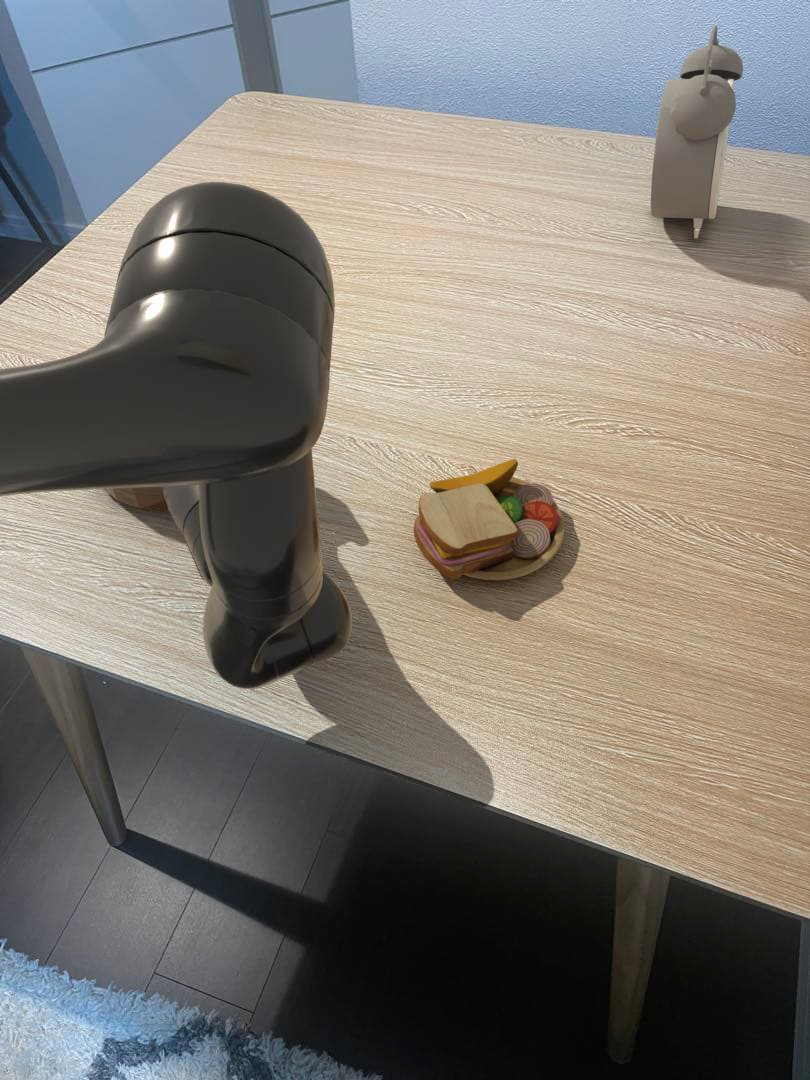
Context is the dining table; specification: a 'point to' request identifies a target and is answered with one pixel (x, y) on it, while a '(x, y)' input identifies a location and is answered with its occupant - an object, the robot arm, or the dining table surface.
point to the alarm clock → (694, 134)
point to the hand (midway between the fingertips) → (156, 377)
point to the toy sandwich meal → (488, 525)
